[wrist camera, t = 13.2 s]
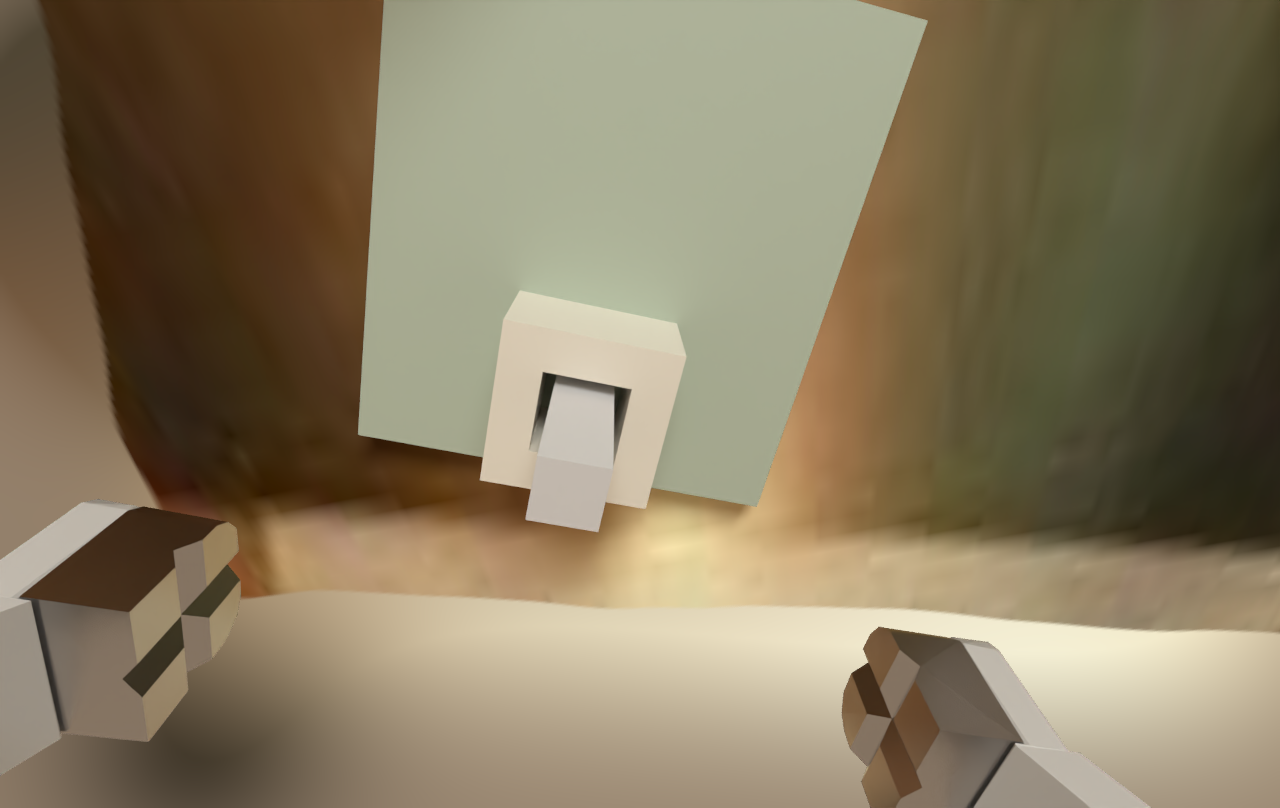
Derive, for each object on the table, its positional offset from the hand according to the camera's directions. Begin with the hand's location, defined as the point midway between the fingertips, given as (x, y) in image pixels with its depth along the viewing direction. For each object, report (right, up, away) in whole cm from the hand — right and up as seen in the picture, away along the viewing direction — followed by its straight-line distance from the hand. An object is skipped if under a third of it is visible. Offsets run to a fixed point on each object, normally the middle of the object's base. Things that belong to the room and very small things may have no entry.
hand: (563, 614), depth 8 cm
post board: (0, +9, +18) cm, 20 cm away
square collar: (-1, +4, +19) cm, 19 cm away
